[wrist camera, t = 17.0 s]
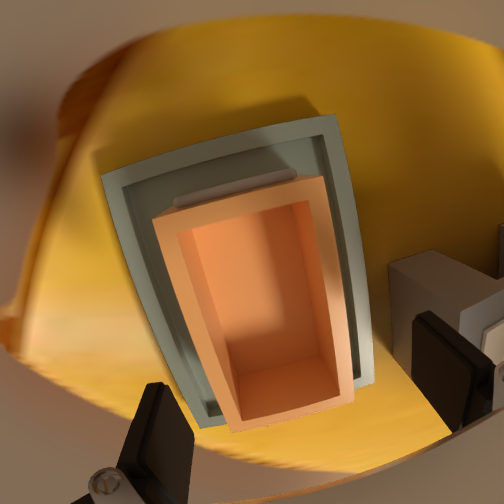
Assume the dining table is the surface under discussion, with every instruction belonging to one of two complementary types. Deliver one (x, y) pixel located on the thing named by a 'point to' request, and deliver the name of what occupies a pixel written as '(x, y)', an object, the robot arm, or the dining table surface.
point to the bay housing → (447, 301)
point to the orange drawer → (262, 295)
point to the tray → (217, 173)
